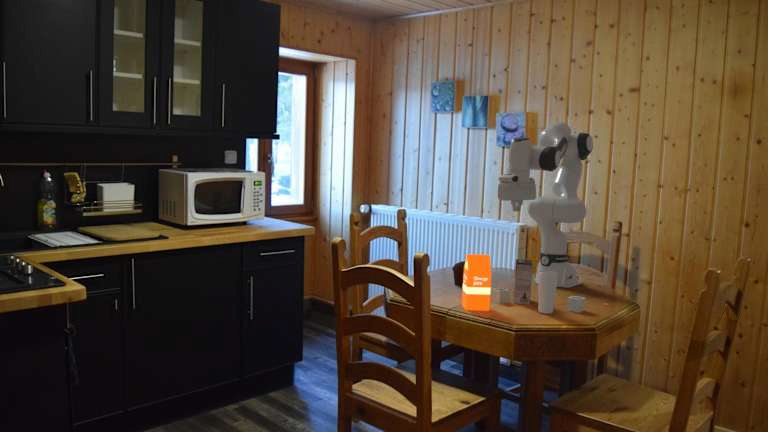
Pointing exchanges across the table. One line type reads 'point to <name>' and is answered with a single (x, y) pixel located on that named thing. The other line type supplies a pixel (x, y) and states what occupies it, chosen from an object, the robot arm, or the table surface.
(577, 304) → the digit block offwhite
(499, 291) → the digit block sage
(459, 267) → the muffin
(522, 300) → the coffee box
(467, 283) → the orange juice
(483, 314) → the table surface
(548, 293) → the drinking glass
